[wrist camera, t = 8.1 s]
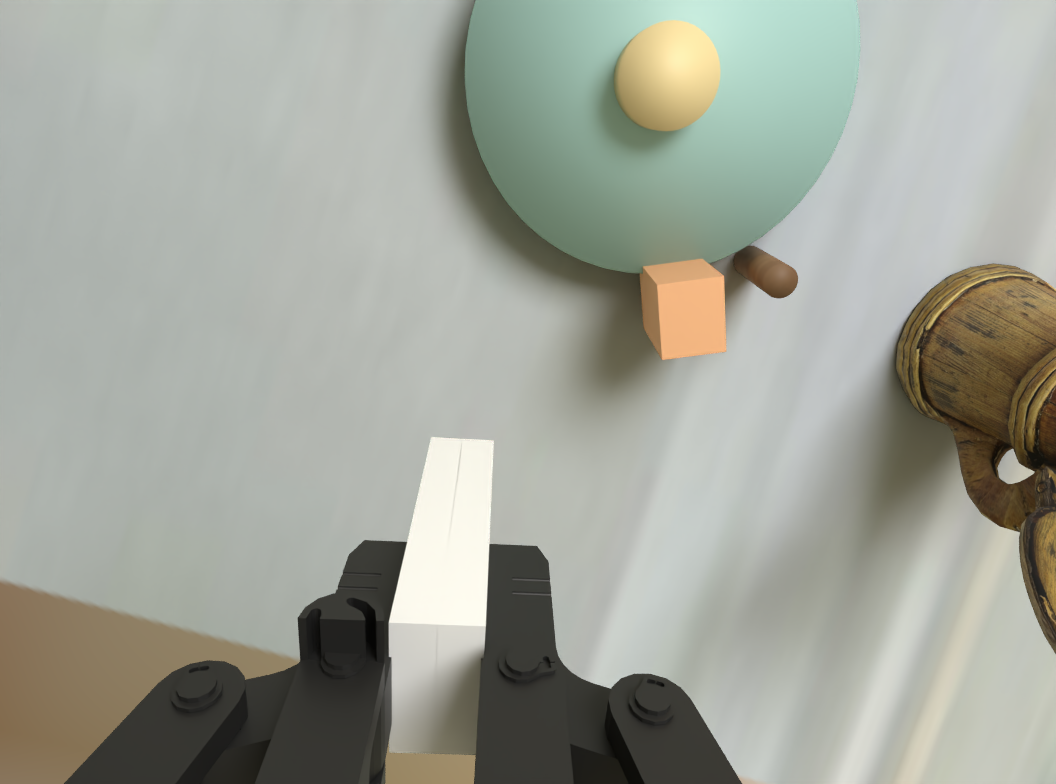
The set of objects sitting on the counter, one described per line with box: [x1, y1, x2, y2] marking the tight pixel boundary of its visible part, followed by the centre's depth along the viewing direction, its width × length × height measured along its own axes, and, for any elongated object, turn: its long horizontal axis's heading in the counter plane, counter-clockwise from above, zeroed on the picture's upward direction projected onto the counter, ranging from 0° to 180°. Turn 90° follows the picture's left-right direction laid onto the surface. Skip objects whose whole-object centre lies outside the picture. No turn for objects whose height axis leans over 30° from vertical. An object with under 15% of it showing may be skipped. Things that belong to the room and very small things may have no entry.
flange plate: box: [465, 0, 860, 360], centre depth 32 cm, size 18×21×5 cm
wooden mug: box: [896, 264, 1056, 653], centre depth 32 cm, size 9×14×18 cm, turn 143°
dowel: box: [734, 246, 798, 298], centre depth 36 cm, size 2×2×5 cm
